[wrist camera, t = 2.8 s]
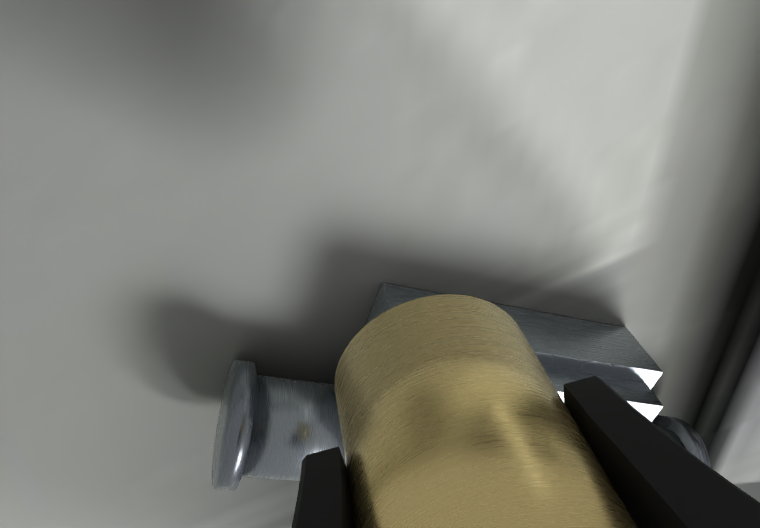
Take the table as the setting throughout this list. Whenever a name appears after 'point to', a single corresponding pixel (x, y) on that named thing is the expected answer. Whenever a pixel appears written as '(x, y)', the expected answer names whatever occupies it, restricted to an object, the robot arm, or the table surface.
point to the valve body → (320, 413)
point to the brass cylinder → (462, 426)
